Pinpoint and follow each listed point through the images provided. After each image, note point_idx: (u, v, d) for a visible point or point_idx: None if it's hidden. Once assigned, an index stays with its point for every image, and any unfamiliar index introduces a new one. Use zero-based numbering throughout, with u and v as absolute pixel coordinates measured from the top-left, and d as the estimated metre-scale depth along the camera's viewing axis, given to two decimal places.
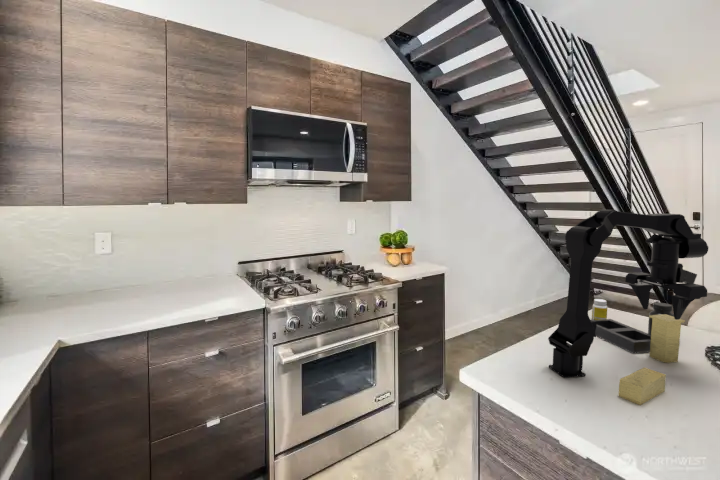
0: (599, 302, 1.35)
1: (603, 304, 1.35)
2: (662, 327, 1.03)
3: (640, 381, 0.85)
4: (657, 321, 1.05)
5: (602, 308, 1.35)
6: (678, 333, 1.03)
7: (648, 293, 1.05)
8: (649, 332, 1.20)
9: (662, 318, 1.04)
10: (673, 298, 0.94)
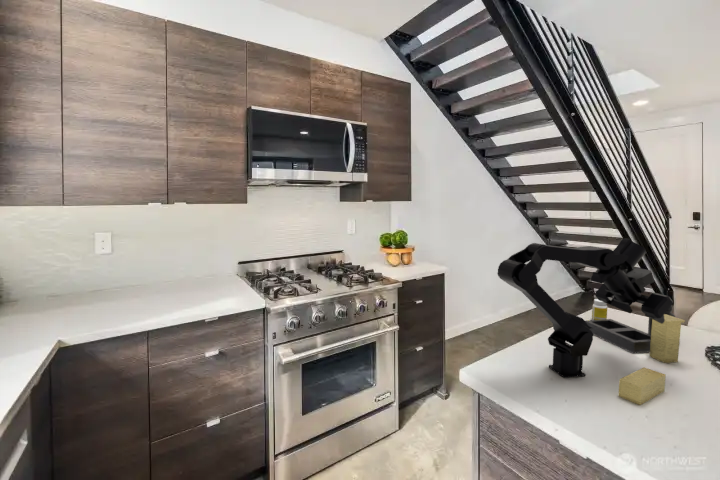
0: (599, 302, 1.35)
1: (603, 304, 1.35)
2: (662, 327, 1.03)
3: (640, 381, 0.85)
4: None
5: (602, 308, 1.35)
6: (678, 333, 1.03)
7: None
8: (649, 332, 1.20)
9: None
10: (648, 316, 0.95)
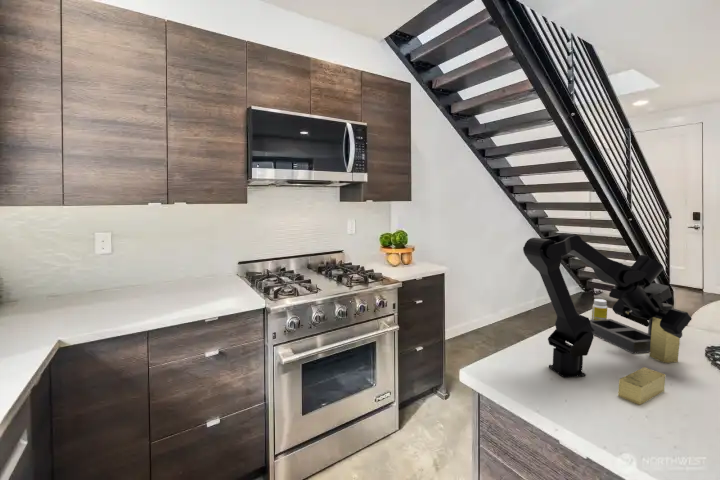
0: (599, 302, 1.35)
1: (603, 304, 1.35)
2: None
3: (640, 381, 0.85)
4: (657, 321, 1.05)
5: (602, 308, 1.35)
6: None
7: None
8: (649, 332, 1.20)
9: None
10: (666, 331, 0.97)
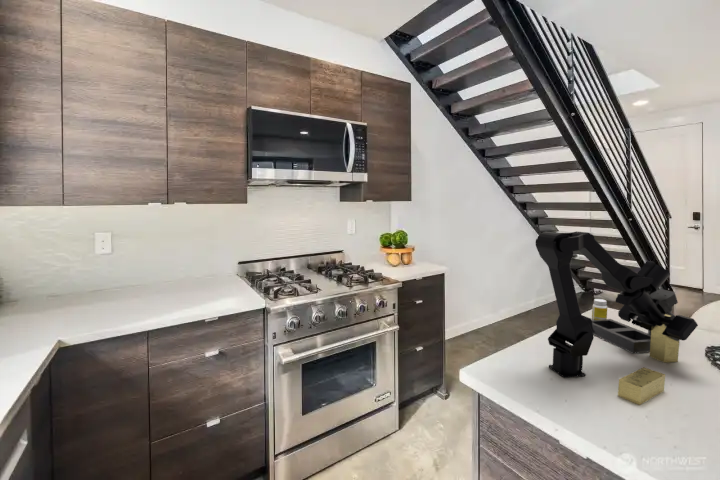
0: (599, 302, 1.35)
1: (603, 304, 1.35)
2: (662, 327, 1.03)
3: (639, 381, 0.85)
4: None
5: (602, 308, 1.35)
6: None
7: None
8: (649, 332, 1.20)
9: None
10: (665, 335, 1.00)
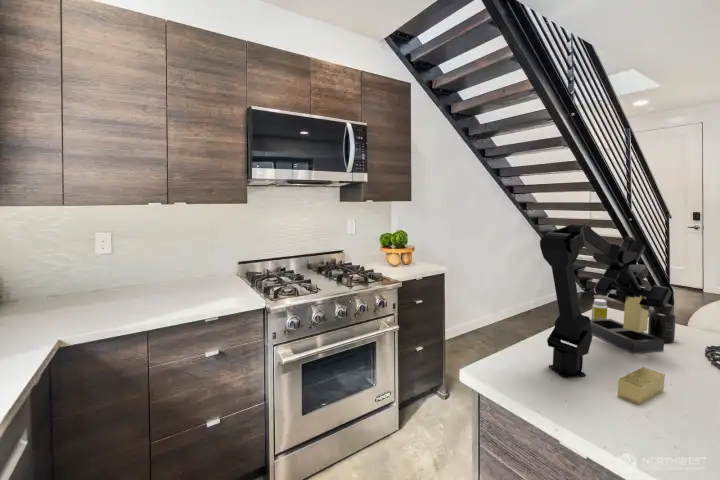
0: (599, 302, 1.35)
1: (603, 304, 1.35)
2: (636, 300, 1.11)
3: (639, 380, 0.85)
4: None
5: (602, 308, 1.35)
6: None
7: None
8: (649, 332, 1.20)
9: None
10: (641, 305, 1.08)
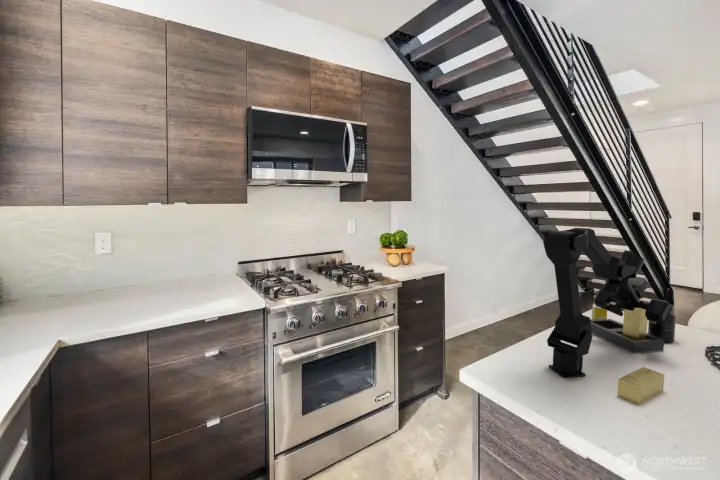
0: None
1: None
2: (635, 315, 1.12)
3: (639, 380, 0.85)
4: (629, 310, 1.13)
5: None
6: (646, 319, 1.13)
7: None
8: (649, 332, 1.20)
9: None
10: (649, 320, 1.07)
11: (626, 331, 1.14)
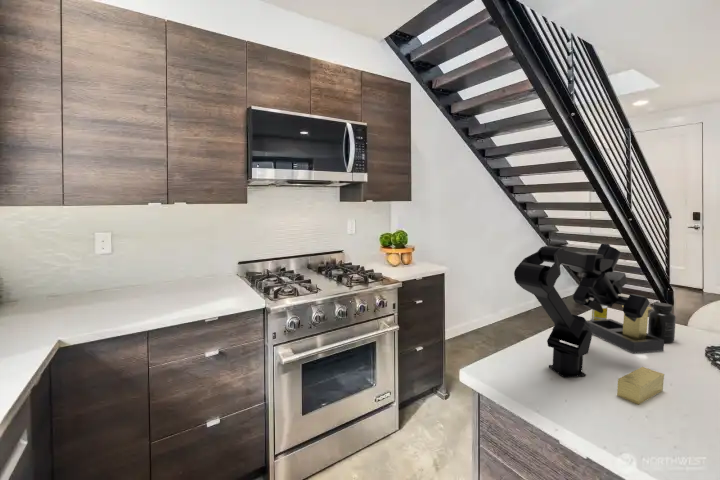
0: None
1: None
2: None
3: (638, 380, 0.85)
4: None
5: None
6: (646, 319, 1.13)
7: None
8: (649, 332, 1.20)
9: None
10: (627, 316, 1.02)
11: (626, 331, 1.14)
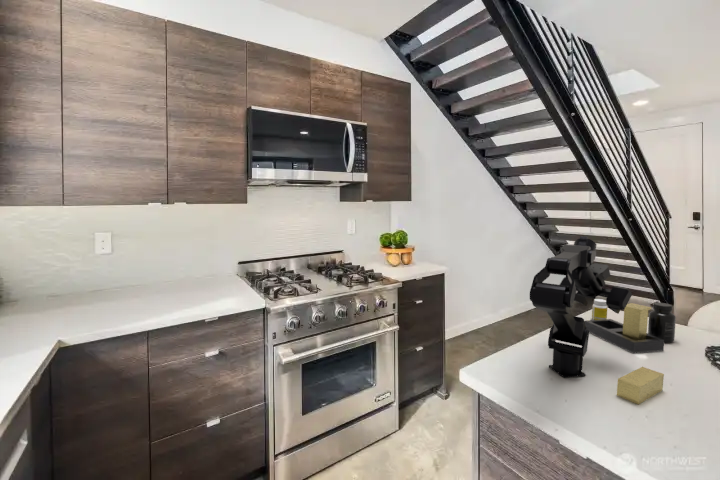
0: (599, 302, 1.35)
1: (603, 304, 1.35)
2: (635, 315, 1.12)
3: (638, 380, 0.85)
4: (629, 310, 1.13)
5: (602, 308, 1.35)
6: (646, 319, 1.13)
7: None
8: (649, 332, 1.20)
9: (634, 307, 1.12)
10: (610, 308, 1.02)
11: (626, 331, 1.14)
